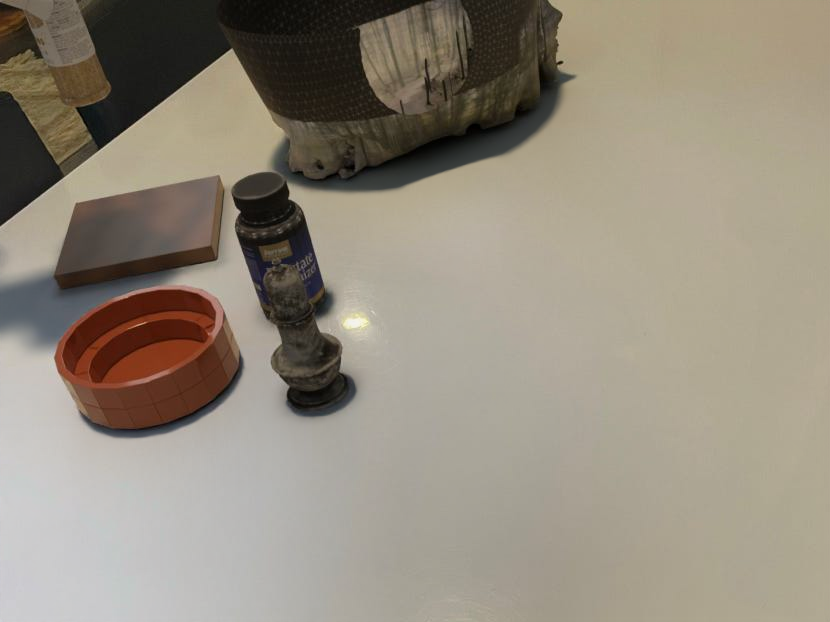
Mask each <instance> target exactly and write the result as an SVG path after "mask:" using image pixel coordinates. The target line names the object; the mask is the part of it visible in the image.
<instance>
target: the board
mask: <svg viewBox="0 0 830 622" xmlns="http://www.w3.org/2000/svg"><path fill="white" fill-rule="evenodd" d="M224 190H225V188H224V184H223V181H222V178H221V175H220V174H217V175H212V176H207V177H202V178H196V179H192V180H186V181H180V182H176V183H170V184H166V185H161V186H154V187H150V188H145V189H140V190H135V191H130V192H125V193H119V194H113V195H109V196H104V197H100V198H94V199H90V200H84V201H79V202H75V204H74V207H73V211H72V213H71V217H70V221H69V224H68V227H67V231H66V233H65V234H66V235H65V237H64V240H63V244H62V247H61V250H60V253H59V257H58V259H57V263H56V265H55V270H54V272H53V273H54V274H53V278H54V280H55V282H56V284H57V286H58V287H59V290H65V289H71V288H74V287H80V286H87V285H91V284H97V283H101V282H106V281H112V280H117V279H123V278H127V277H133V276H137V275H142V274H147V273H153V272H157V271H163V270H168V269H173V268H180V267H185V266H190V265H194V264H199V263H204V262H209V261H215V260H217V257H218V256H217V255H218V247H219V246H218V245H219V238H220V237H219V236H220V227H221V219H222V218H221V217H222V208H223V200H224Z"/></svg>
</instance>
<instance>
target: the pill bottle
mask: <svg viewBox="0 0 830 622" xmlns="http://www.w3.org/2000/svg"><path fill="white" fill-rule="evenodd" d="M230 191H231V192H230V193H231V197H232V200H233V203H234V206H235V208H236V209H237V210H238V211H239V214H238V215H237V216H236V219H235V223H234V231H235V235H236V237H237V241H238V243H239V246H240V250H241V252H242V255H243V259H244V260H245V265H246V267H247V270H248V272H249V275H250V278H251V281H252V285H253V287H254V290H255V293H256V296H257V298H258V301H259V305H260V308H261V309H262V311H263V312H264V314H266V315H267V316H268V317H270V313H271V312H272V307H271V305H270V302H269V299H268V296H267V293H266V290H265V287H264V283H263V279H264V276H265V274H266V272H267V271H268V270H269V269H271V268H272V267H273V266H274V265H273V264H272V261H273V259H274V257H276V258H278V259H280V260H281V262H280V264H287V265H292V266H294V267H295V268H297V269H298V271H299V272H300V274H301V277H302V281H303V284H304V287H305V290H306V294H307V297H308V300H310V301H312V302H313V303H314V304H315V306H316V310H318V309H319V308H320V306H321V305H322V304H323V302H324V300H325V298H326V296H327V295H326V294H327V290H326V287H325V283H324V279H323V275H322V272H321V269H320V265H319V261H318V259H317V255H316V250H315V248H314V245H313V241H312V237H311V234H310V230H309V226H308V223H307V220H306V216H305V213H304V212H305V211H304V210H303V208H302V207H301V206H300V205H299V204H298V203H297V202H296V201H294V200H291V199H289V198H290V193H291V191H290V188H289V186H288V182H287V180H286V177H285V176H284V175H283V174H281V173H279V172H276V171H261V172H256V173H252V174H249V175H247V176H244V177H243V178H240V179H239V180H237V181H236V182H235V183H234V184H233V185H232V187H231V190H230Z"/></svg>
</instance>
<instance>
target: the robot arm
mask: <svg viewBox="0 0 830 622" xmlns="http://www.w3.org/2000/svg"><path fill="white" fill-rule="evenodd" d="M0 3H1V4H5V5H8V6H11V7H13V8H17V9H20V10H22V11H23V10H26V11H28V12H30V13H31V14H33V15H34V16H36V17H38V18H39V19H41V20H43V21H47V20H49V19H50V17H51V14H52V11H53V9H54V6H55V0H0Z"/></svg>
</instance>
